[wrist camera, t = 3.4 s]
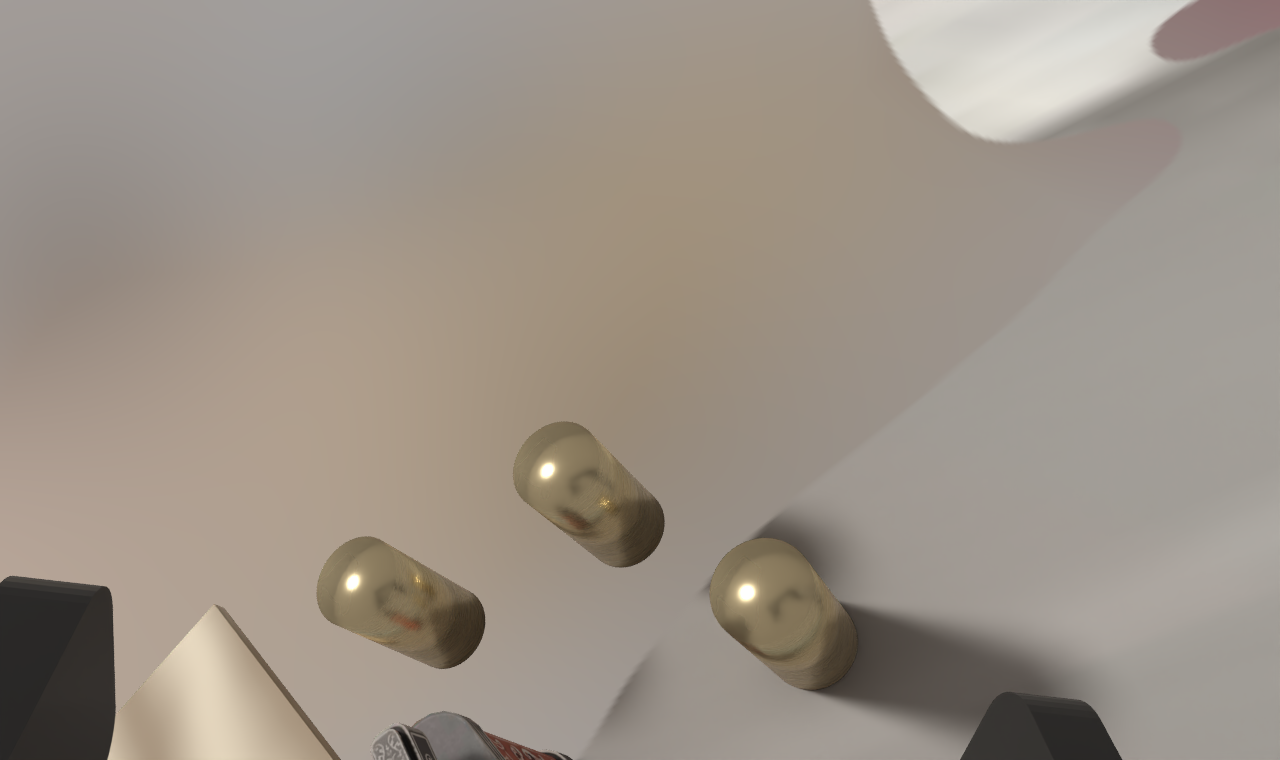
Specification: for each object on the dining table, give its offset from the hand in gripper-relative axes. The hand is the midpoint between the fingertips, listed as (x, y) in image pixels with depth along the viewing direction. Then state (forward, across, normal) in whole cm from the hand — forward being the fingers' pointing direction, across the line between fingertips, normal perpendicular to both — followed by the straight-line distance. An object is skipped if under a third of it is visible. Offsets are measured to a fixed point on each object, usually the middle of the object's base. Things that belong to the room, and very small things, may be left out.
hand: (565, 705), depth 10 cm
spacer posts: (+21, -5, +19) cm, 29 cm away
